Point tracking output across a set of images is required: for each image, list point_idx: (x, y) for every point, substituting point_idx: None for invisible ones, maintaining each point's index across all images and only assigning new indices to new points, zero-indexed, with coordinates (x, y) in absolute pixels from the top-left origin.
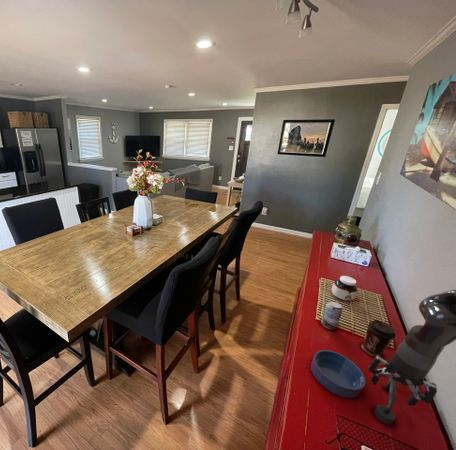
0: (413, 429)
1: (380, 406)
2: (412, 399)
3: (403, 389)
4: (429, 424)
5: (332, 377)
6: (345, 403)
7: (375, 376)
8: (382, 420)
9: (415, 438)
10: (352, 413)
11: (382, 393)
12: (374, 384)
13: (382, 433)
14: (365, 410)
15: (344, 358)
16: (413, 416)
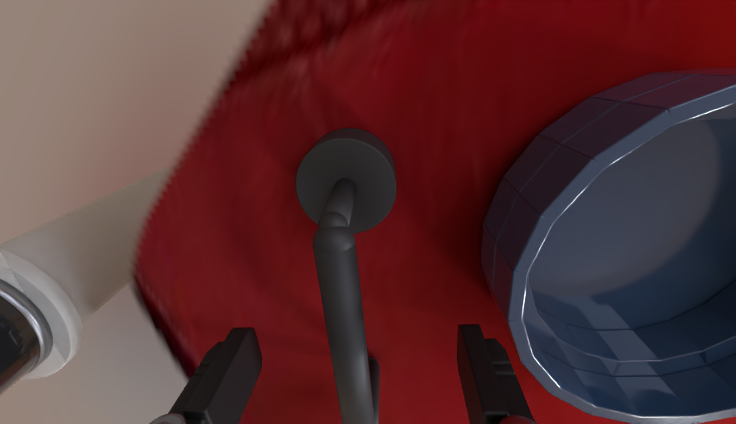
0: (228, 222)
1: (379, 207)
2: (212, 386)
3: (316, 409)
4: (195, 308)
5: (654, 214)
6: (554, 69)
7: (513, 412)
8: (348, 130)
9: (206, 172)
10: (505, 20)
11: (381, 324)
12: (468, 328)
13: (328, 34)
14: (436, 130)
15: (644, 407)
16: (250, 299)
